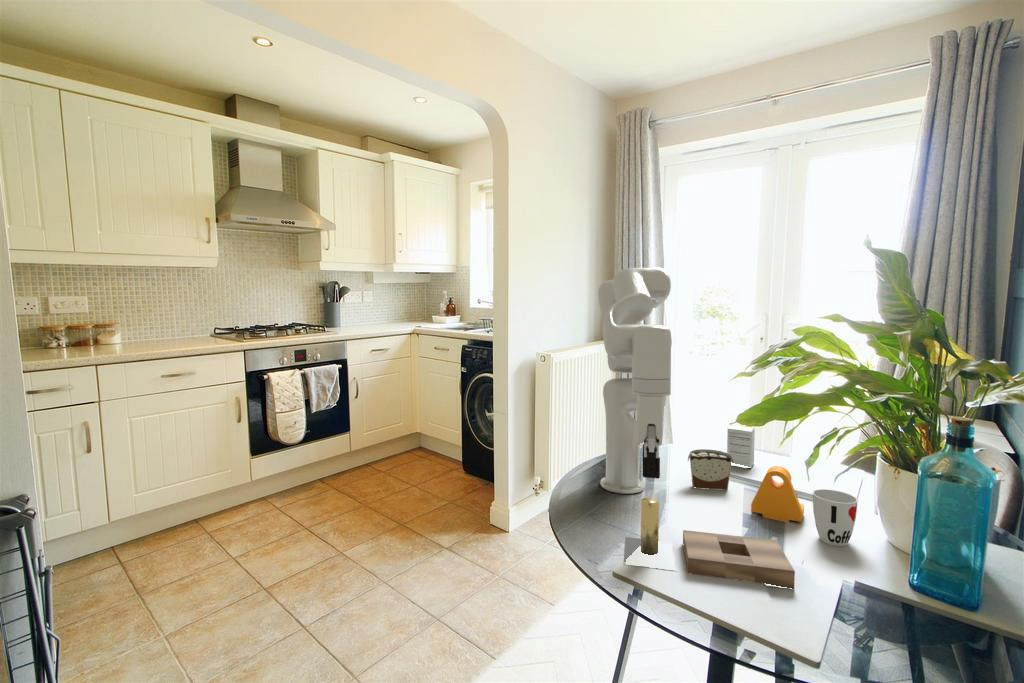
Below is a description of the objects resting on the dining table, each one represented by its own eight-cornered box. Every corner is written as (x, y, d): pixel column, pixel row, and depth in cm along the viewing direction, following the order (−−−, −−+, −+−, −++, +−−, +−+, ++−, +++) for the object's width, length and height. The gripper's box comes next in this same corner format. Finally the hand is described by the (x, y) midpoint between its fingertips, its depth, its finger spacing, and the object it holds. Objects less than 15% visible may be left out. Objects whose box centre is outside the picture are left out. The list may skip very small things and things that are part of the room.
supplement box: (730, 460, 160) (731, 423, 160) (754, 463, 156) (755, 426, 155) (726, 465, 154) (726, 428, 154) (751, 470, 150) (751, 431, 149)
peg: (640, 547, 99) (641, 497, 98) (658, 550, 98) (658, 498, 97) (640, 556, 96) (641, 503, 95) (658, 558, 95) (659, 505, 94)
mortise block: (682, 545, 101) (683, 530, 101) (775, 556, 96) (776, 540, 96) (688, 575, 89) (688, 557, 89) (794, 589, 84) (794, 571, 84)
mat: (625, 539, 104) (625, 536, 104) (673, 544, 101) (673, 542, 101) (623, 567, 92) (623, 564, 92) (677, 574, 90) (677, 571, 90)
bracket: (803, 514, 116) (805, 467, 116) (801, 525, 110) (802, 475, 110) (755, 504, 123) (756, 459, 122) (751, 514, 117) (752, 467, 116)
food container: (727, 483, 139) (727, 449, 138) (733, 490, 132) (734, 455, 132) (683, 480, 141) (684, 447, 140) (687, 488, 135) (688, 453, 134)
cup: (825, 549, 99) (826, 503, 98) (803, 531, 107) (804, 488, 107) (865, 550, 99) (866, 503, 98) (840, 532, 107) (841, 489, 106)
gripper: (632, 380, 104) (632, 457, 105) (631, 391, 88) (630, 482, 88) (668, 381, 102) (667, 459, 103) (673, 393, 86) (672, 485, 86)
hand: (650, 469), depth 96 cm, fingers open, 9 cm apart
